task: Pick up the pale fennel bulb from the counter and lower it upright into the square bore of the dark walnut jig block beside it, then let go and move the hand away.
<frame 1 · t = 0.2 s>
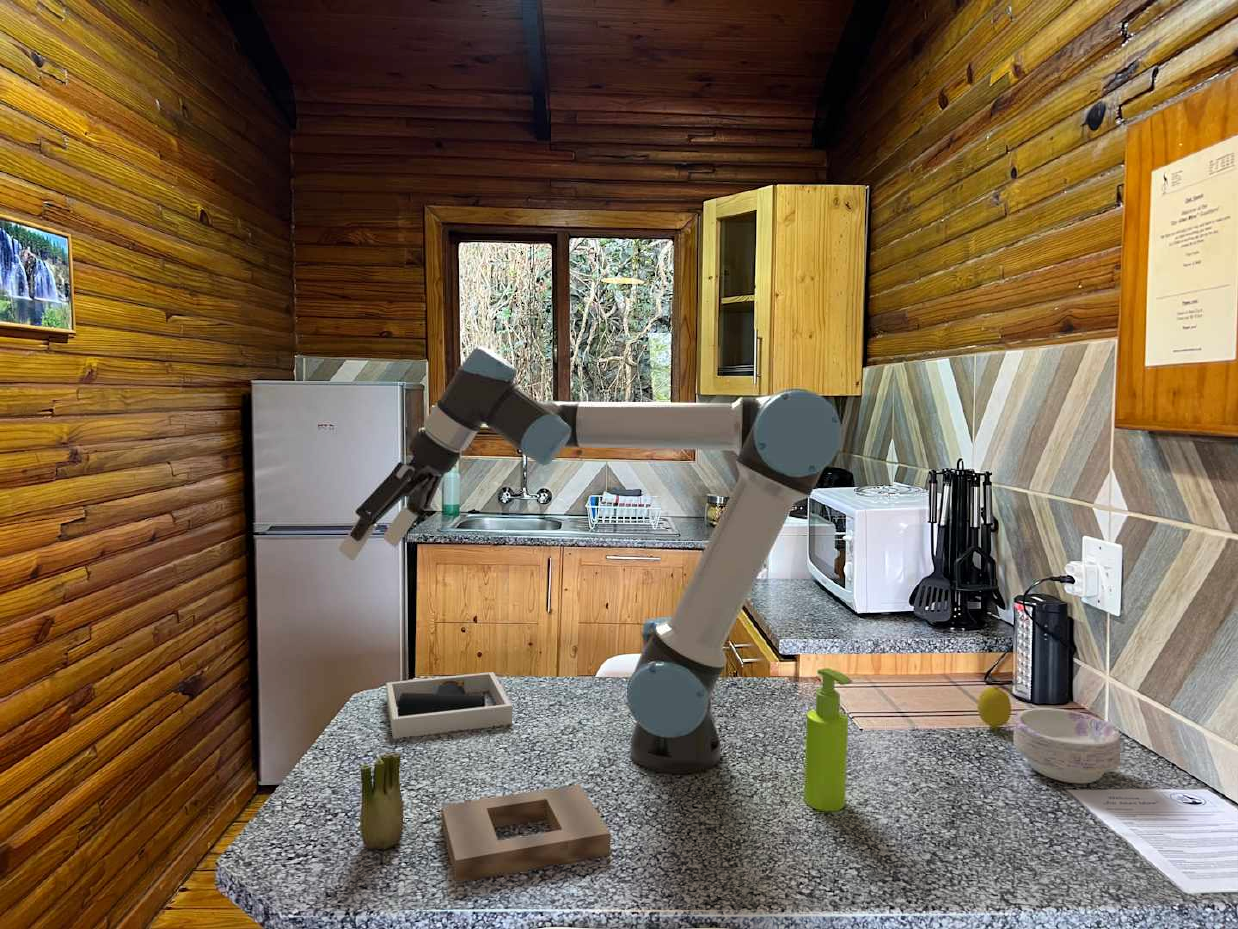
hand: (368, 548, 126), 36 cm above the countertop, tool tilted 35°, fingers open, 13 cm apart
jig block: (523, 840, 108), on the countertop
lemon: (993, 729, 147), on the countertop
soap dispenser: (826, 804, 119), on the countertop
pipe connector: (446, 715, 152), resting in parts tray
fennel bulb: (382, 845, 107), on the countertop
parts tray: (447, 711, 152), on the countertop
paper bowls: (1063, 772, 131), on the countertop
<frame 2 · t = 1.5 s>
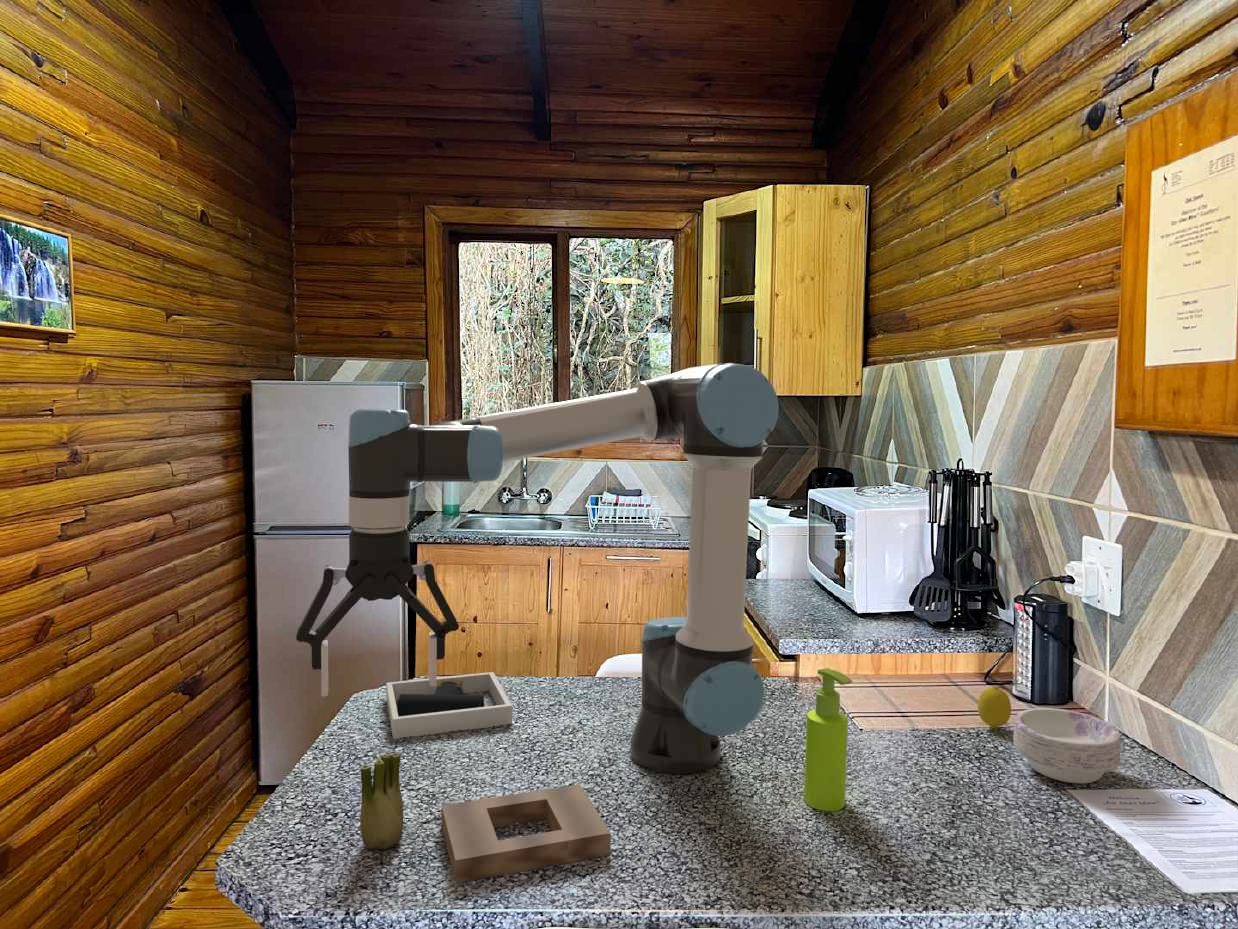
hand: (379, 688, 106), 21 cm above the countertop, tool pointing down, fingers open, 13 cm apart
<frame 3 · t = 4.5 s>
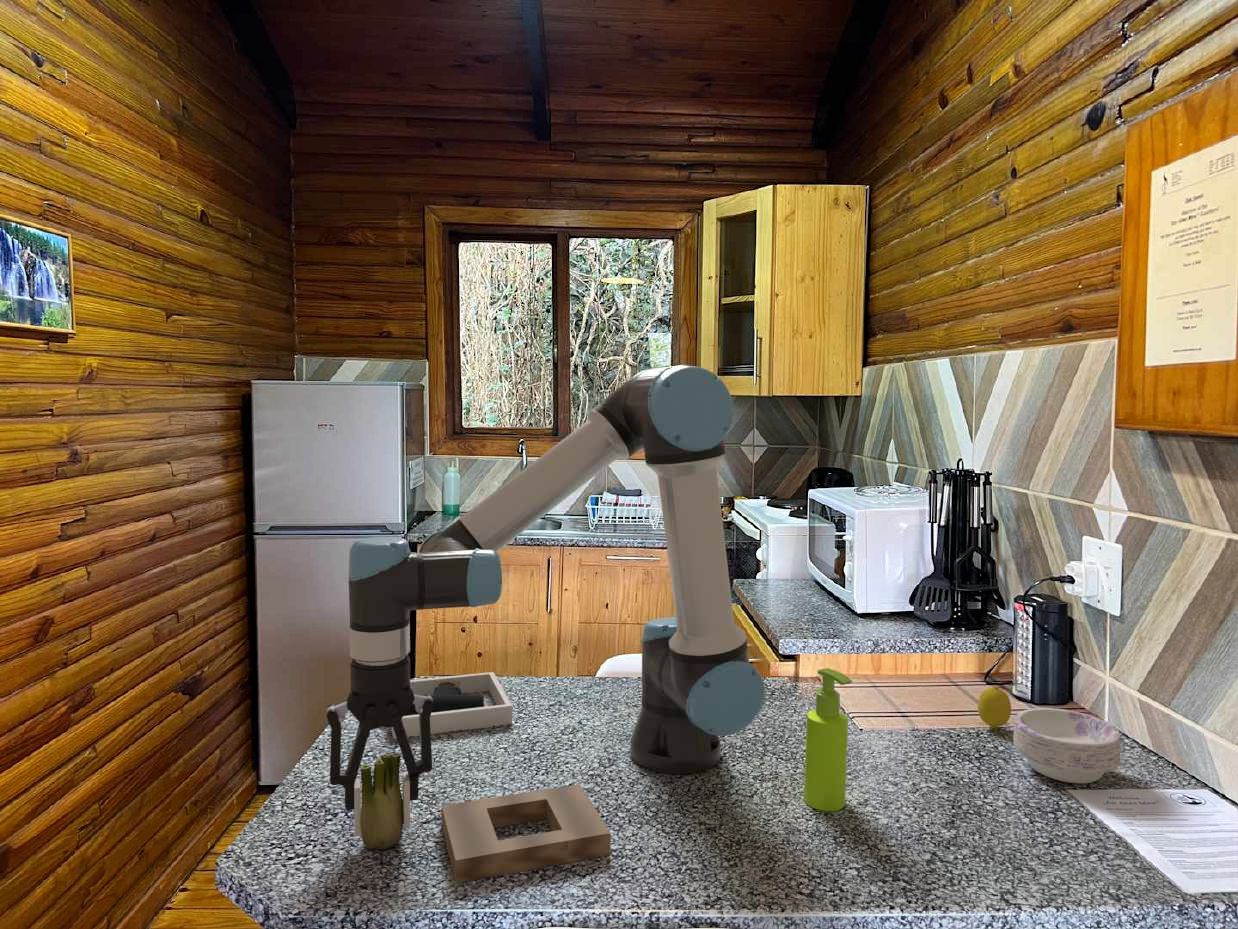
hand: (382, 826, 107), 2 cm above the countertop, tool pointing down, fingers closed on fennel bulb, 5 cm apart
fennel bulb: (382, 845, 107), on the countertop, touching gripper
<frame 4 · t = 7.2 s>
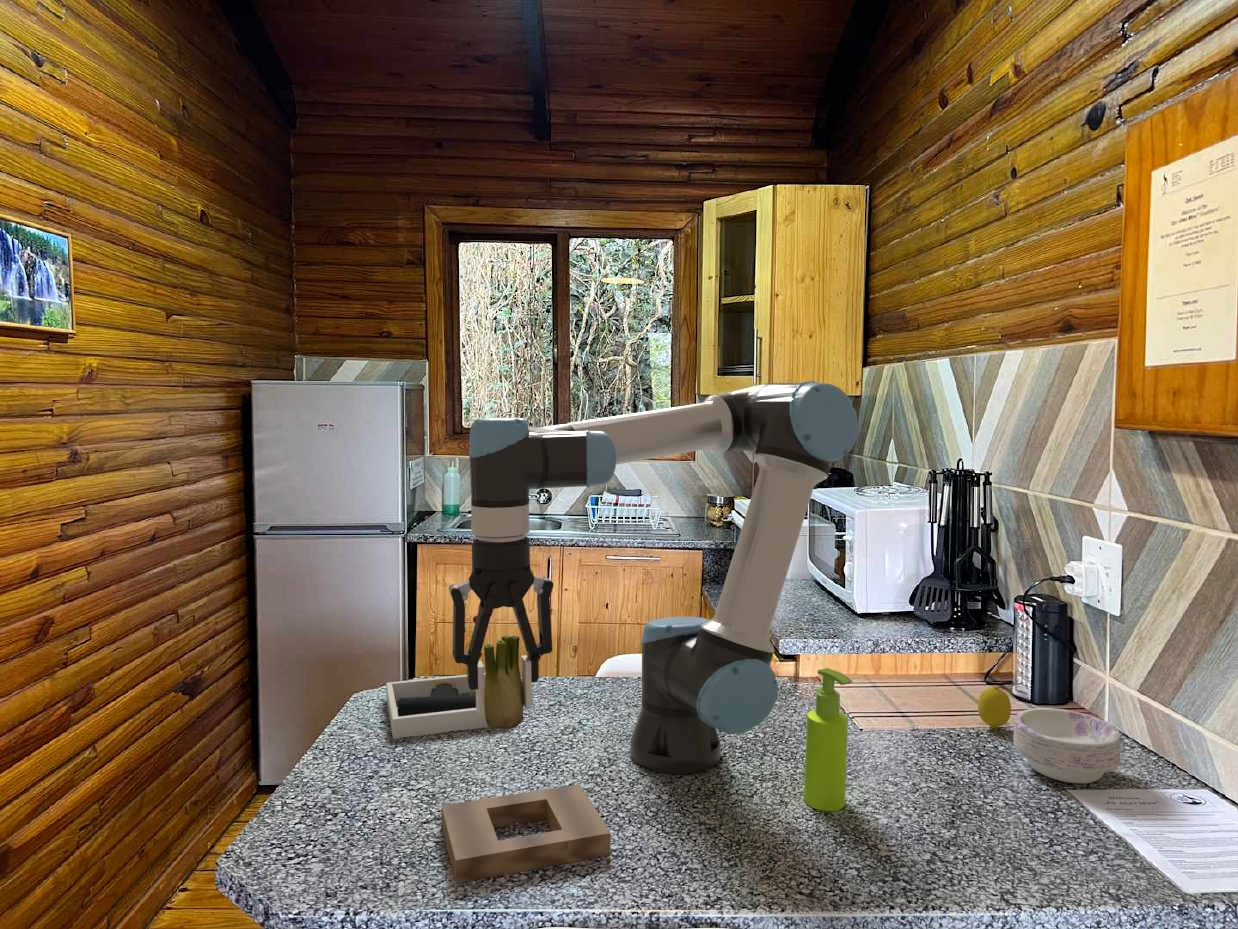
hand: (503, 708, 107), 18 cm above the countertop, tool pointing down, fingers closed on fennel bulb, 5 cm apart
fennel bulb: (504, 727, 107), point 16 cm above the countertop, touching gripper
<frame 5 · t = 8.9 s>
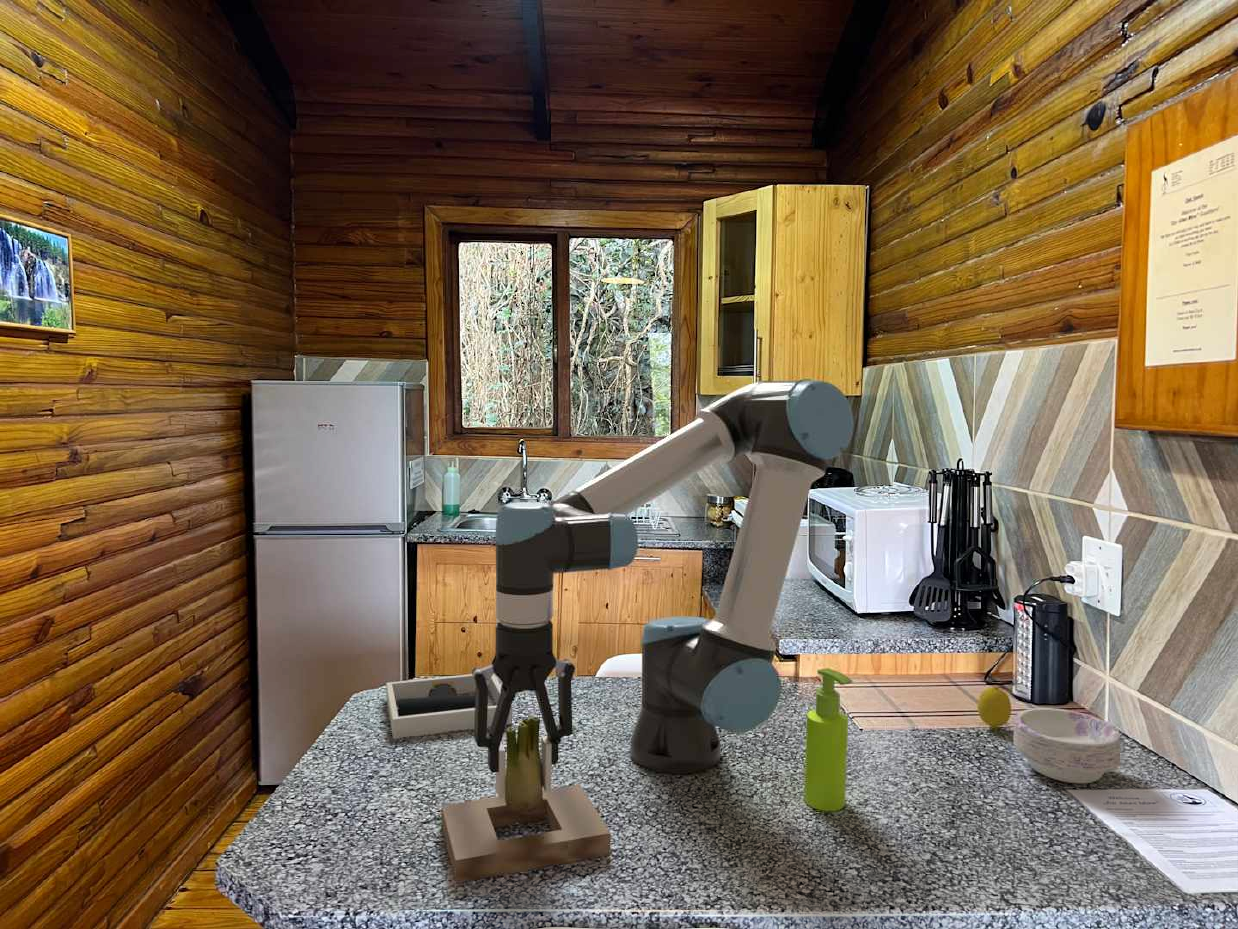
hand: (523, 790, 108), 7 cm above the countertop, tool pointing down, fingers closed on fennel bulb, 5 cm apart
fennel bulb: (523, 808, 108), point 4 cm above the countertop, touching gripper
when the fingers open (3 cm above the countertop, at t = 10.0 s): fennel bulb stays where it is, resting in jig block.
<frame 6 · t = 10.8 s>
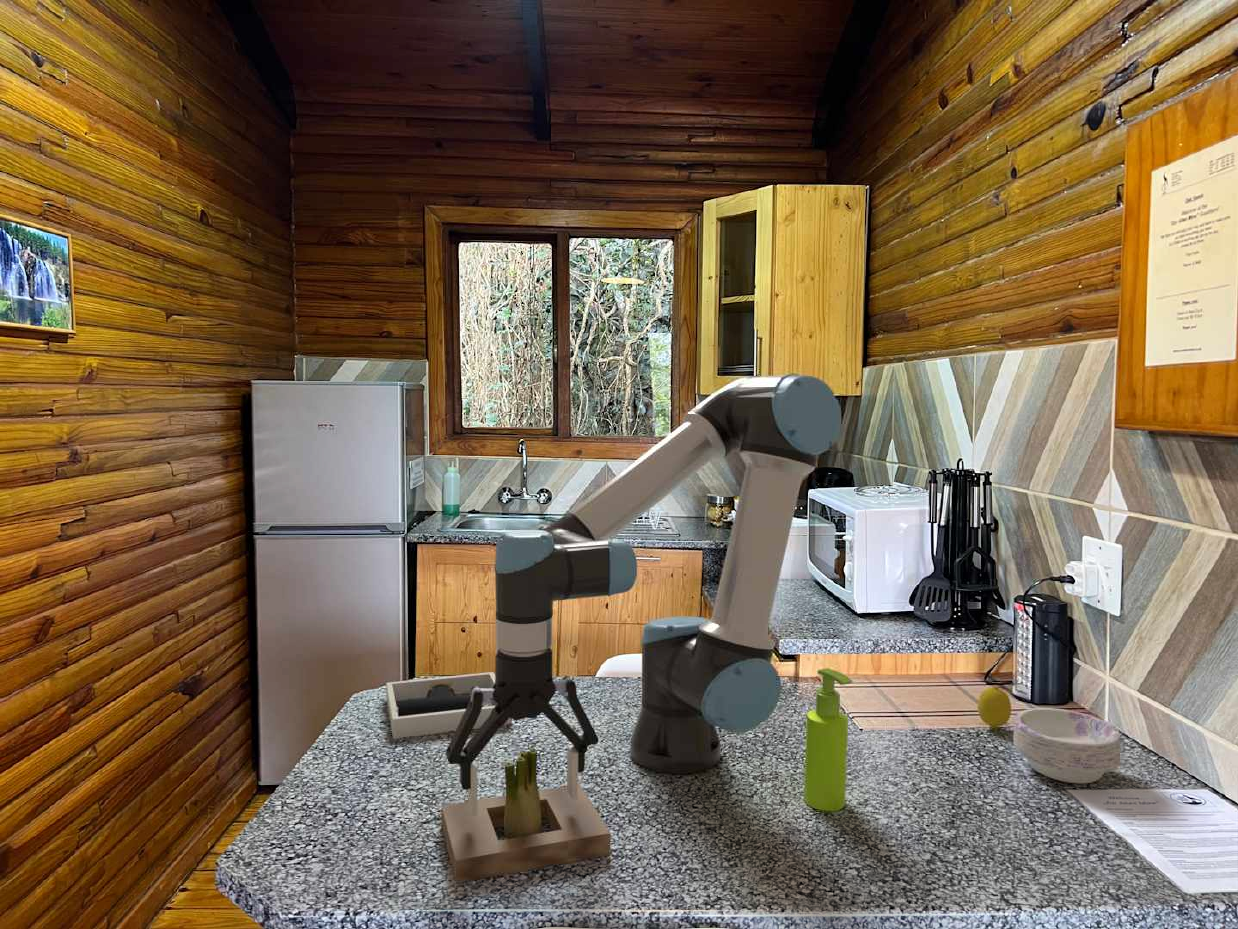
hand: (523, 803, 108), 5 cm above the countertop, tool pointing down, fingers open, 13 cm apart
fennel bulb: (522, 841, 108), resting in jig block
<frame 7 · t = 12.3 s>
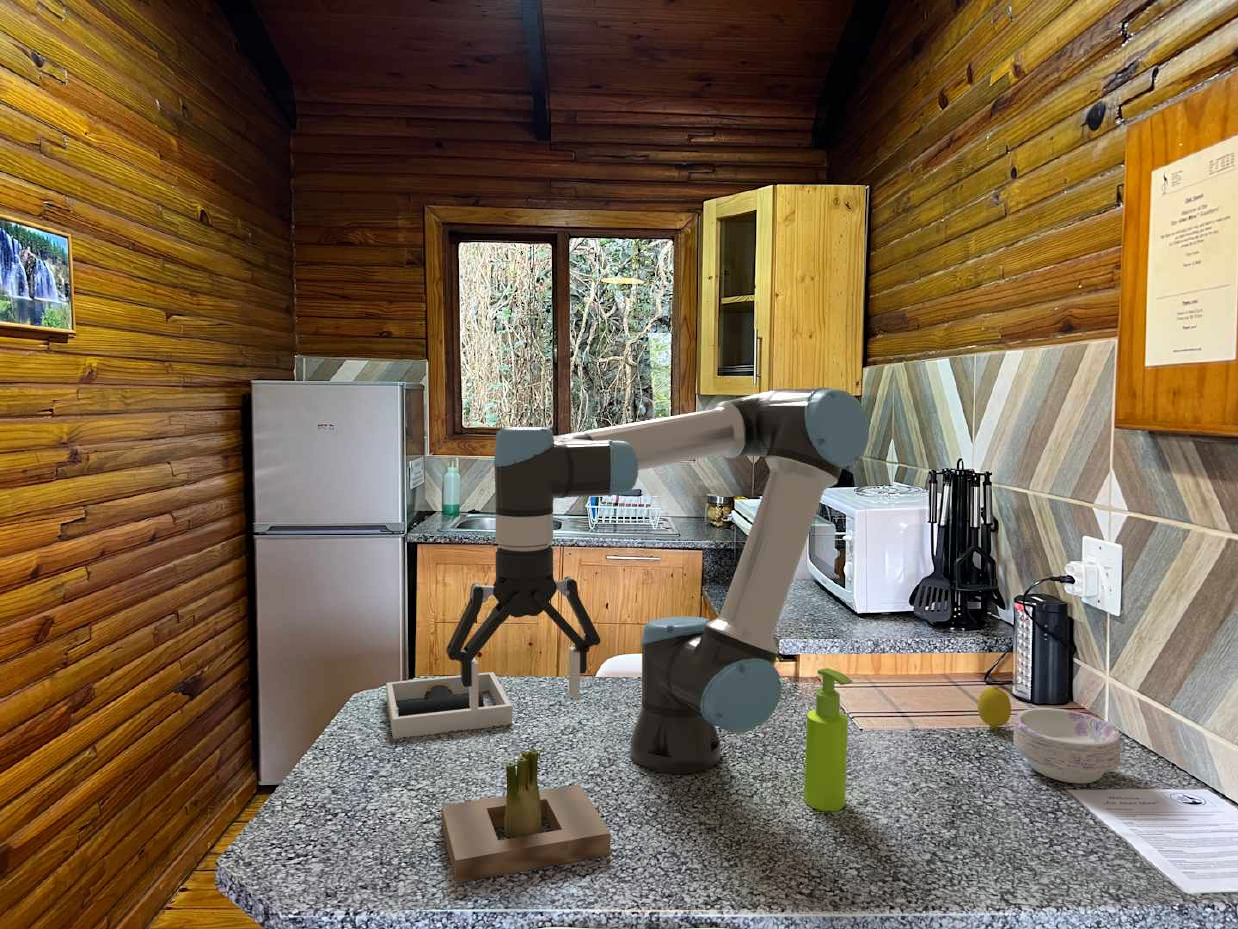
hand: (525, 703, 107), 19 cm above the countertop, tool pointing down, fingers open, 13 cm apart
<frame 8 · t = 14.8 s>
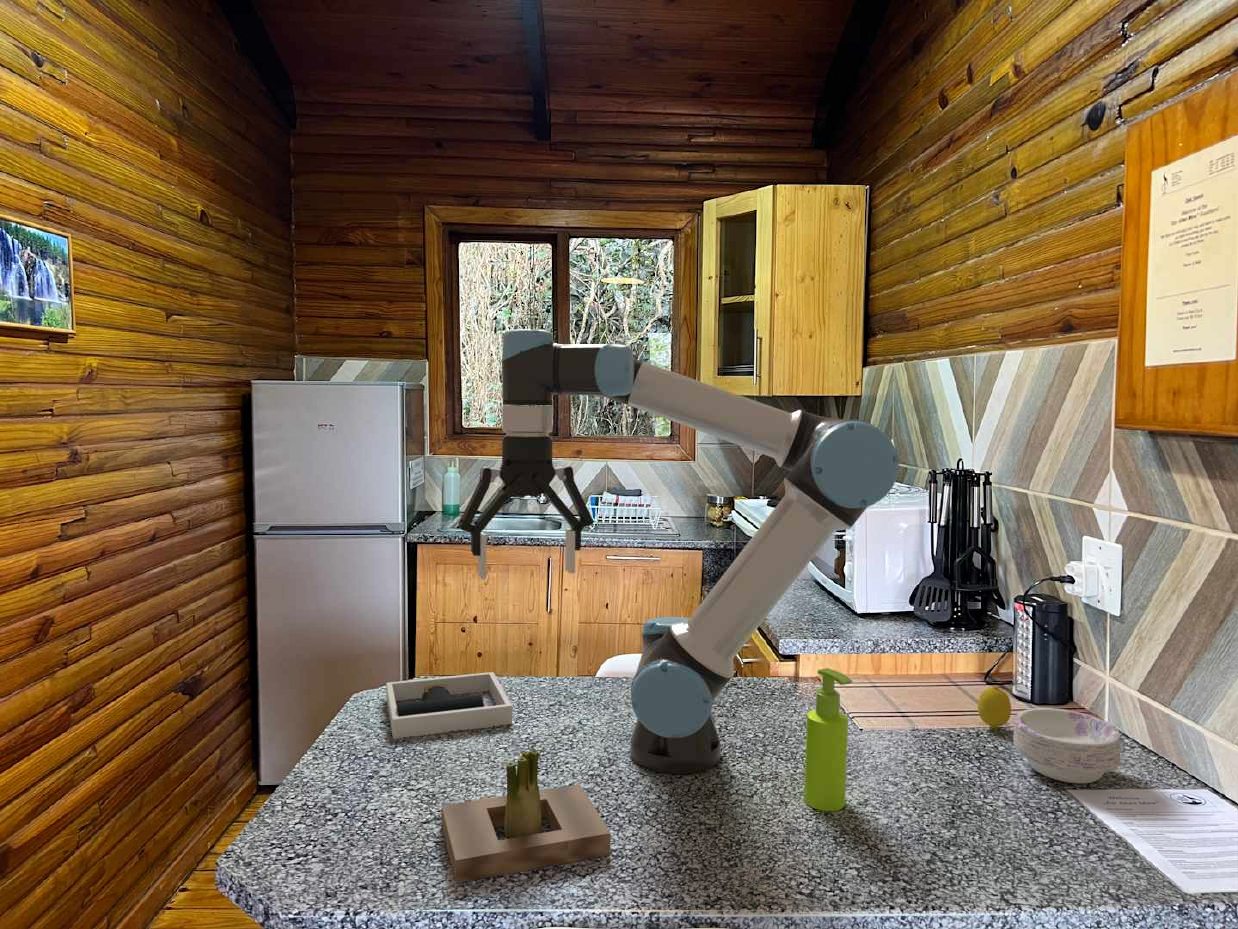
hand: (526, 574, 122), 33 cm above the countertop, tool pointing down, fingers open, 13 cm apart
at the end: fennel bulb 0.2 cm off-centre on the jig block, point 0.0 cm above the jig block's base; fennel bulb tilted 0°; the gripper is holding nothing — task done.
